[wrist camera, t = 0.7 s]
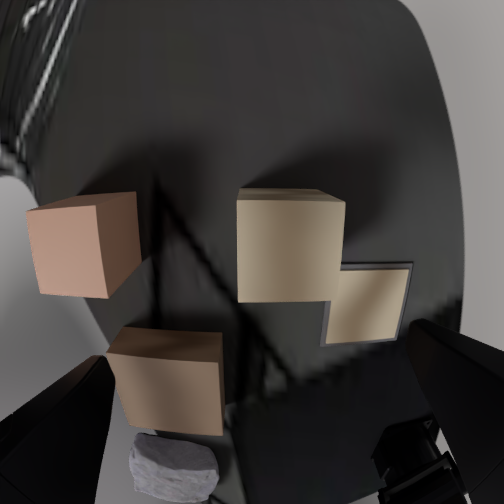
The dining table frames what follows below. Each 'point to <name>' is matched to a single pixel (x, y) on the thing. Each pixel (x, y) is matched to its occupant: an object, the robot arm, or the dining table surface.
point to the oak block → (288, 245)
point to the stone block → (173, 468)
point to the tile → (366, 304)
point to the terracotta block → (85, 244)
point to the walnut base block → (170, 379)
